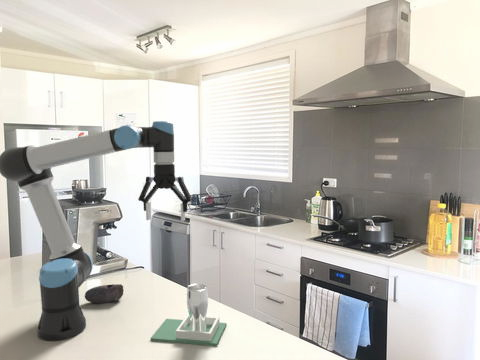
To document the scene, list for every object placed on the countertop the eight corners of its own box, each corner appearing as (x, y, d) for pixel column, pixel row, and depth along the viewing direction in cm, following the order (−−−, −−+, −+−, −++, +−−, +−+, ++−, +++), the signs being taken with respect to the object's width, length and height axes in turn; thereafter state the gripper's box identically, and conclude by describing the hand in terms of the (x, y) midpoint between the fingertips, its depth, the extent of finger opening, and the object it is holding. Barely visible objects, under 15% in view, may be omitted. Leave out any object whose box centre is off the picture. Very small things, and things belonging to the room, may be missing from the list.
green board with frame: (150, 340, 127) (150, 330, 127) (166, 320, 141) (166, 311, 141) (216, 346, 123) (216, 335, 123) (226, 325, 137) (226, 316, 137)
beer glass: (199, 323, 137) (197, 281, 135) (213, 330, 132) (212, 286, 130) (183, 331, 131) (182, 287, 130) (197, 338, 127) (196, 293, 125)
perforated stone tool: (82, 305, 155) (81, 288, 155) (87, 300, 161) (86, 283, 160) (121, 304, 156) (120, 287, 156) (124, 298, 161) (123, 282, 161)
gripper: (199, 163, 147) (200, 218, 149) (137, 162, 152) (138, 217, 154) (193, 164, 140) (194, 223, 142) (128, 164, 144) (130, 221, 146)
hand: (165, 220), depth 148 cm, fingers open, 13 cm apart
